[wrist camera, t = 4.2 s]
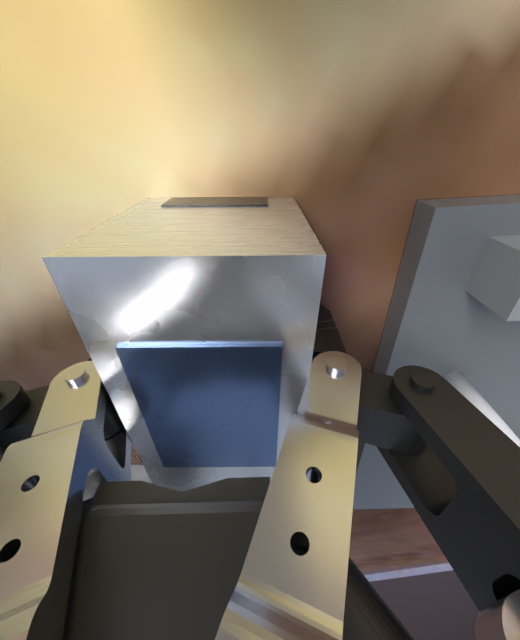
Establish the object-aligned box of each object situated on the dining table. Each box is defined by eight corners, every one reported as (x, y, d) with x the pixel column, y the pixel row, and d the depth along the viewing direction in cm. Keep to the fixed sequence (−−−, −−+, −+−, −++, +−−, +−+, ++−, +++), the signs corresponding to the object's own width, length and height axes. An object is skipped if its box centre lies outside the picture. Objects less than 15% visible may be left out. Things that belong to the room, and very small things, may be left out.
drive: (147, 196, 9) (36, 256, 5) (293, 195, 9) (328, 254, 5) (189, 380, 14) (155, 496, 10) (282, 379, 14) (293, 495, 10)
